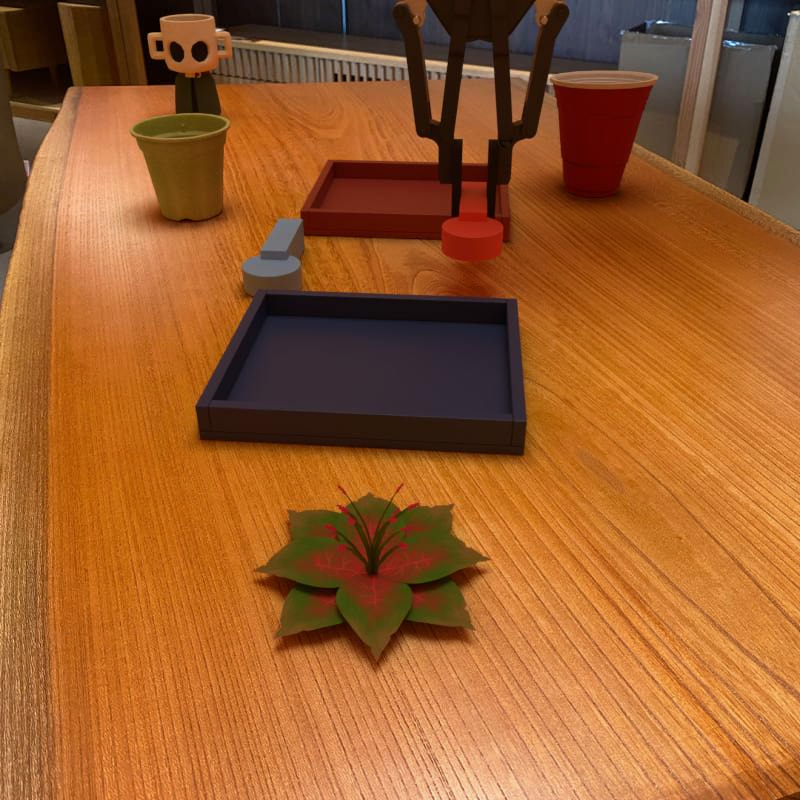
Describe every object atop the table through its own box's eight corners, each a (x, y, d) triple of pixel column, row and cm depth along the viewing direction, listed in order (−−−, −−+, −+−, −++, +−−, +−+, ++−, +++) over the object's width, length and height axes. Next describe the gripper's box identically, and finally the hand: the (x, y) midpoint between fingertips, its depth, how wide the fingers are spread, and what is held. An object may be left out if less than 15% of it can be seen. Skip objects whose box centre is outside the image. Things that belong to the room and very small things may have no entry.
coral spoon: (500, 213, 74) (502, 182, 72) (502, 262, 64) (504, 228, 63) (445, 212, 74) (446, 181, 73) (439, 261, 65) (440, 226, 63)
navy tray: (514, 326, 64) (517, 298, 62) (523, 455, 50) (527, 421, 48) (260, 316, 65) (257, 288, 64) (199, 439, 51) (194, 406, 50)
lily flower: (236, 679, 36) (224, 602, 33) (260, 501, 46) (253, 432, 44) (514, 667, 36) (522, 591, 34) (478, 494, 47) (482, 425, 44)
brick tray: (504, 185, 92) (506, 163, 91) (508, 241, 78) (510, 216, 77) (328, 180, 94) (327, 159, 92) (301, 235, 80) (299, 210, 78)
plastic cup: (608, 169, 97) (622, 59, 91) (660, 198, 89) (681, 79, 82) (523, 178, 94) (531, 66, 88) (568, 209, 86) (582, 87, 79)
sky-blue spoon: (318, 248, 77) (317, 219, 75) (296, 300, 68) (294, 267, 66) (267, 246, 77) (264, 217, 76) (237, 298, 68) (234, 265, 66)
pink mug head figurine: (155, 126, 113) (140, 22, 107) (163, 113, 119) (148, 14, 113) (237, 124, 114) (226, 21, 107) (240, 112, 120) (230, 13, 113)
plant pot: (180, 236, 79) (167, 143, 75) (126, 213, 85) (110, 125, 80) (258, 211, 85) (249, 124, 81) (202, 190, 91) (191, 108, 86)
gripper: (370, -100, 56) (379, 235, 69) (601, -102, 55) (567, 239, 67) (381, -103, 62) (387, 204, 75) (589, -105, 61) (560, 207, 74)
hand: (472, 220), depth 71 cm, fingers closed on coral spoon, 2 cm apart
